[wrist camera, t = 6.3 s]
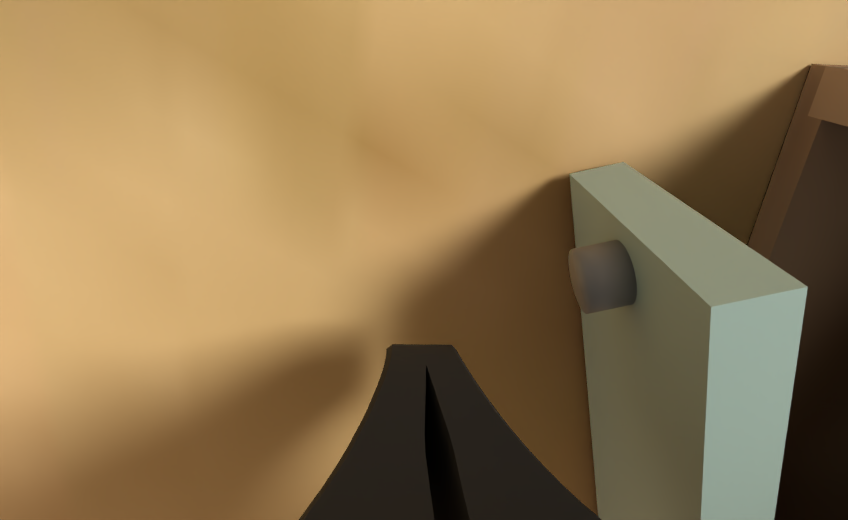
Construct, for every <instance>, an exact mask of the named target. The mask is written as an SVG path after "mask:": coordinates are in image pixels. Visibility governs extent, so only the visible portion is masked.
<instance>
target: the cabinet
mask: <svg viewBox="0 0 848 520" xmlns="http://www.w3.org/2000/svg"><path fill="white" fill-rule="evenodd" d="M747 246H748V247H750V248H751V249H753V250H754V251H756V252H757V253H759V254H760V255H762V256H763V257H765V258H766V259H768V260H769V261H771V262H772V263H773V264H775V265H776V266H778V267H779V268H781V269H782V270H784V271H785V272H787V273H788V274H790V275H791V276H793V277H794V278H796V279H797V280H799V281H800V282H802V283H803V284H804V285H806V286H807V287H808V289H807V296H806V303H805V310H804V317H803V324H802V331H801V337H800V344H799V351H798V358H797V365H796V372H795V379H794V386H793V393H792V400H791V407H790V413H789V420H788V427H787V434H786V441H785V448H784V455H783V462H782V469H781V476H780V483H779V490H778V496H777V503H776V510H775V517H774V520H848V66H841V65H821V64H812V65H811V67H810V70H809V73H808V76H807V79H806V82H805V84H804V87H803V90H802V93H801V96H800V99H799V101H798V104H797V107H796V110H795V113H794V115H793V118H792V121H791V124H790V127H789V130H788V132H787V135H786V138H785V141H784V144H783V147H782V149H781V152H780V155H779V158H778V161H777V164H776V166H775V169H774V172H773V175H772V178H771V180H770V183H769V186H768V189H767V192H766V195H765V197H764V200H763V203H762V206H761V209H760V212H759V214H758V217H757V220H756V223H755V226H754V229H753V231H752V234H751V237H750V240H749V243H748V245H747Z"/></svg>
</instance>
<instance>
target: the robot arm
mask: <svg viewBox="0 0 848 520" xmlns="http://www.w3.org/2000/svg"><path fill="white" fill-rule="evenodd" d="M299 520H601V519H600V518H599V517H598V516H597V515H596V514H594V513H593V512H592V511H591V510H590V509H588V508H587V507H586V506H585V505H584V504H582V503H581V502H580V501H579V500H578V499H577V498H576V497H575V496H574V495H573V494H572V493H571V492H569V491H568V490H567V489H566V488H565V487H564V486H563V485H562V484H561V483H560V482H559V481H558V480H557V479H556V478H555V477H554V476H553V475H552V474H551V473H550V472H549V471H548V470H547V469H546V468H545V467H544V466H543V465H542V464H541V463H540V462H539V460H538V459H537V458H536V457H535V456H534V455H533V454H532V453H531V452H530V451H529V449H528V448H527V447H526V446H525V445H524V444H523V443H522V441H521V440H520V439H519V438H518V437H517V435H516V434H515V433H514V432H513V431H512V430H511V428H510V427H509V426H508V425H507V423H506V422H505V421H504V420H503V418H502V417H501V416H500V414H499V413H498V412H497V410H496V409H495V408H494V406H493V405H492V404H491V402H490V401H489V400H488V398H487V397H486V396H485V394H484V393H483V391H482V390H481V388H480V387H479V386H478V384H477V383H476V381H475V380H474V378H473V377H472V375H471V374H470V372H469V370H468V369H467V367H466V366H465V364H464V362H463V361H462V359H461V357H460V356H459V354H458V352H457V350H456V349H455V348H454V347H453V346H452V345H403V344H392V345H391V346H390V347H389V348H387V352H386V359H385V364H384V368H383V371H382V374H381V377H380V380H379V383H378V386H377V388H376V390H375V393H374V395H373V397H372V400H371V402H370V404H369V407H368V409H367V411H366V413H365V415H364V417H363V419H362V421H361V423H360V425H359V427H358V429H357V431H356V433H355V434H354V436H353V438H352V440H351V442H350V444H349V446H348V447H347V449H346V451H345V453H344V454H343V456H342V458H341V459H340V461H339V463H338V464H337V466H336V467H335V469H334V470H333V472H332V474H331V475H330V477H329V478H328V480H327V481H326V483H325V484H324V486H323V487H322V489H321V490H320V491H319V493H318V494H317V496H316V497H315V498H314V500H313V501H312V502H311V504H310V505H309V507H308V508H307V509H306V511H305V512H304V513H303V515H302V516H301V517H300V519H299Z"/></svg>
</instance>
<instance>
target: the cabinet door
mask: <svg viewBox="0 0 848 520" xmlns="http://www.w3.org/2000/svg"><path fill="white" fill-rule="evenodd" d="M570 186H571V198H572V210H573V222H574V234H575V246H576V248H574V249H571V250H570V251H569V255H568V266H569V274H570V279H571V284H572V287H573V291H574V294H575V297H576V299H577V302H578V304H579V306H580V308H581V317H582V329H583V341H584V353H585V365H586V377H587V389H588V401H589V413H590V425H591V437H592V449H593V461H594V473H595V485H596V497H597V508H598V517H599V518H600V519H601V520H774V517H775V510H776V503H777V496H778V490H779V483H780V476H781V469H782V462H783V455H784V448H785V441H786V434H787V427H788V420H789V413H790V407H791V400H792V393H793V386H794V379H795V372H796V365H797V358H798V351H799V344H800V337H801V331H802V324H803V317H804V310H805V303H806V296H807V289H808V287H807V286H806V285H804V284H803V283H802V282H800V281H799V280H797V279H796V278H794V277H793V276H791V275H790V274H788V273H787V272H785V271H784V270H782V269H781V268H779V267H778V266H776V265H775V264H773V263H772V262H771V261H769V260H768V259H766V258H765V257H763V256H762V255H760V254H759V253H757V252H756V251H754V250H753V249H751V248H750V247H748V246H747V245H745V244H744V243H742V242H741V241H739V240H738V239H737V238H735V237H734V236H732V235H731V234H729V233H728V232H726V231H725V230H723V229H722V228H720V227H719V226H717V225H716V224H714V223H713V222H711V221H710V220H708V219H707V218H706V217H704V216H703V215H701V214H700V213H698V212H697V211H695V210H694V209H692V208H691V207H689V206H688V205H686V204H685V203H683V202H682V201H680V200H679V199H677V198H676V197H675V196H673V195H672V194H670V193H669V192H667V191H666V190H664V189H663V188H661V187H660V186H658V185H657V184H655V183H654V182H652V181H651V180H649V179H648V178H646V177H645V176H643V175H642V174H641V173H639V172H638V171H636V170H635V169H633V168H632V167H630V166H629V165H627V164H626V163H624V162H621V163H617V164H612V165H608V166H603V167H598V168H594V169H589V170H585V171H580V172H576V173H571V174H570Z"/></svg>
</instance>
